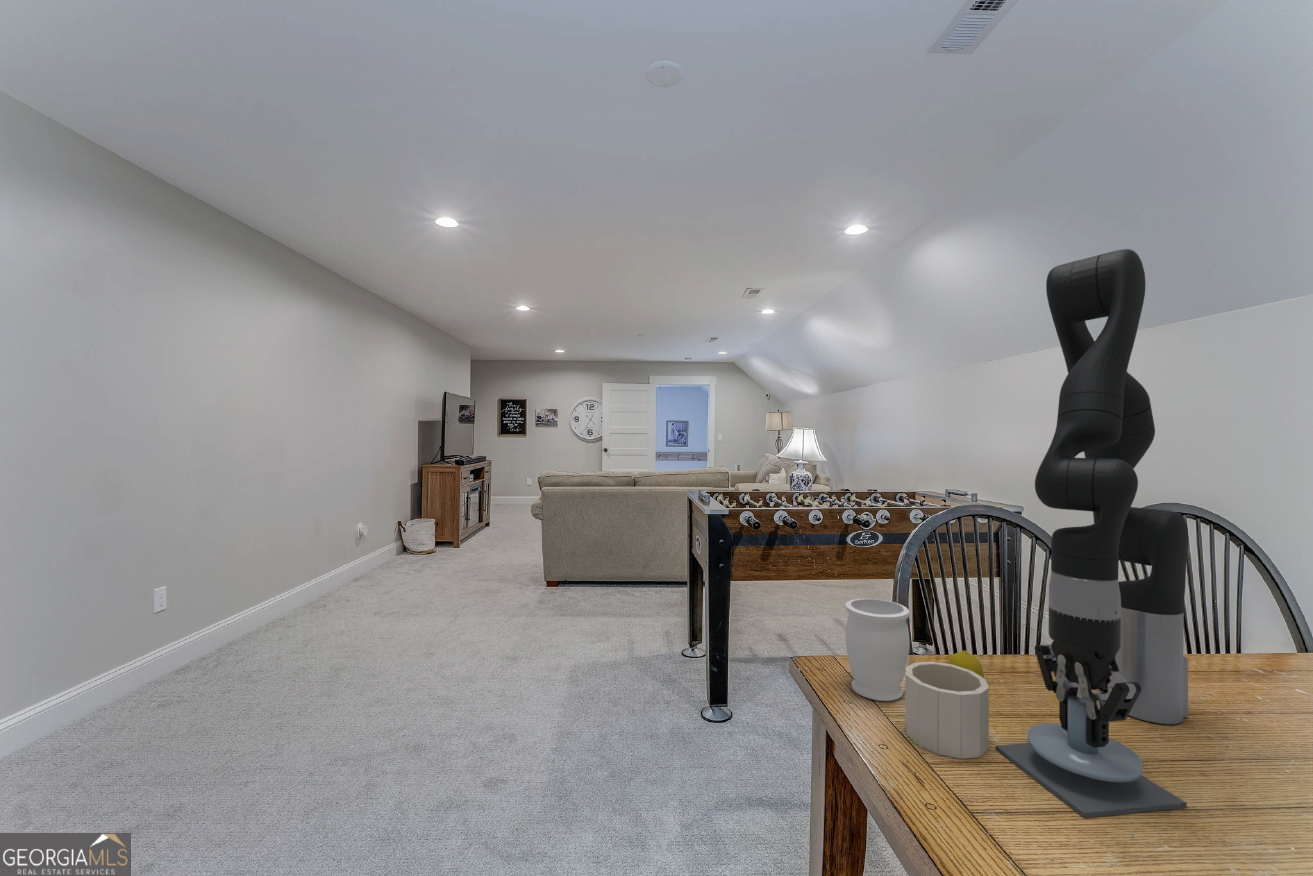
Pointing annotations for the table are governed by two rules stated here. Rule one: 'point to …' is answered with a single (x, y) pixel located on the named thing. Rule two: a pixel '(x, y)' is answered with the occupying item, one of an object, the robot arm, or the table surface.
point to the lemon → (967, 662)
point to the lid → (1084, 749)
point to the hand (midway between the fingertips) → (1082, 736)
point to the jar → (877, 647)
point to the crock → (947, 709)
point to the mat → (1091, 787)
